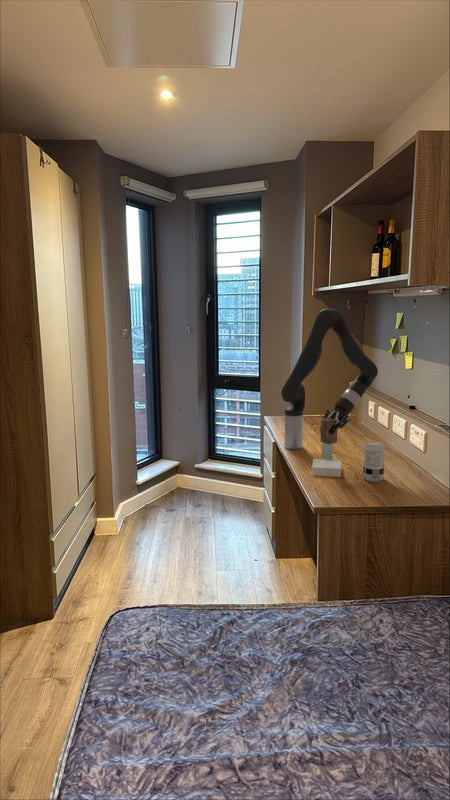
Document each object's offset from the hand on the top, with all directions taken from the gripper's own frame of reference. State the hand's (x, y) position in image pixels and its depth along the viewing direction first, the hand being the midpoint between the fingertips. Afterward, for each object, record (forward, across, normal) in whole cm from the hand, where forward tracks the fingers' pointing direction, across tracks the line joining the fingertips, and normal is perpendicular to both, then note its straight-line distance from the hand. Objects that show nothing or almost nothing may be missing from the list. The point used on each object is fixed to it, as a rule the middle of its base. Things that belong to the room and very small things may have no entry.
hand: (325, 432), depth 216 cm
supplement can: (+5, +18, +20) cm, 28 cm away
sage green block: (+6, -10, +19) cm, 23 cm away
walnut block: (+2, 0, +5) cm, 5 cm away
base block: (+12, 0, +14) cm, 18 cm away
